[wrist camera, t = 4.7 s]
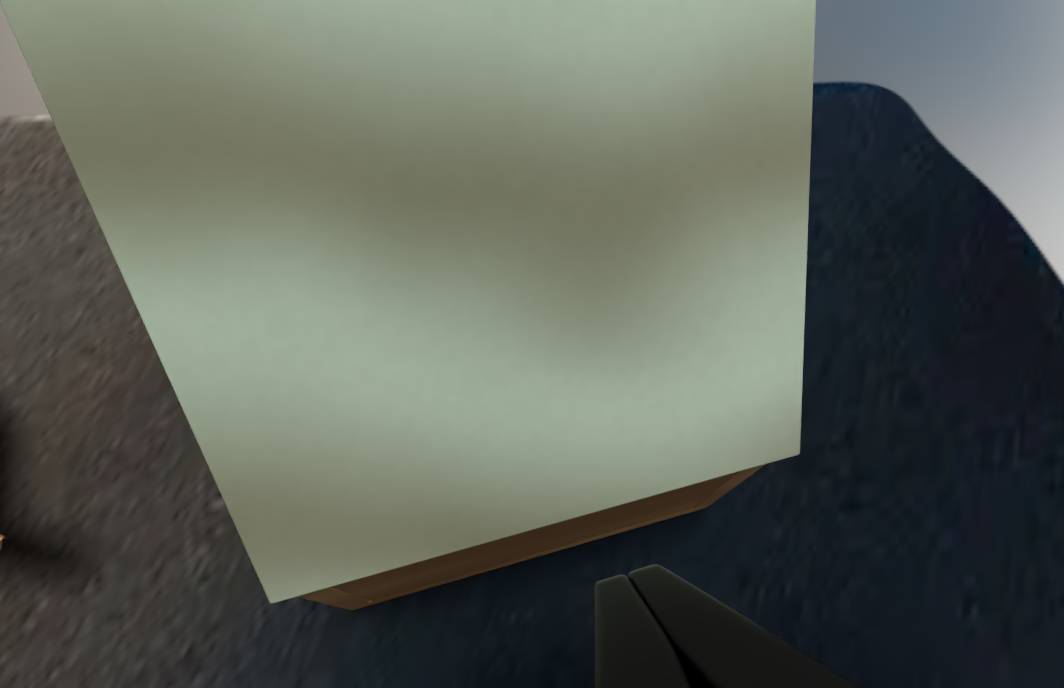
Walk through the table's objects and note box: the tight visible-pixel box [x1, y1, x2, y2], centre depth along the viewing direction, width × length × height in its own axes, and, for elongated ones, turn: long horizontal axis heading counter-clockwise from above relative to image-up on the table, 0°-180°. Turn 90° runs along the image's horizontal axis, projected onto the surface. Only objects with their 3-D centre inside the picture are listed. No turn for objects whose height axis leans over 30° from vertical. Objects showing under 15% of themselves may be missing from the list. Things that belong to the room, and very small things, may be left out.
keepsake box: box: [298, 464, 765, 610], centre depth 21 cm, size 16×13×7 cm
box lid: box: [0, 0, 816, 604], centre depth 11 cm, size 16×13×1 cm
